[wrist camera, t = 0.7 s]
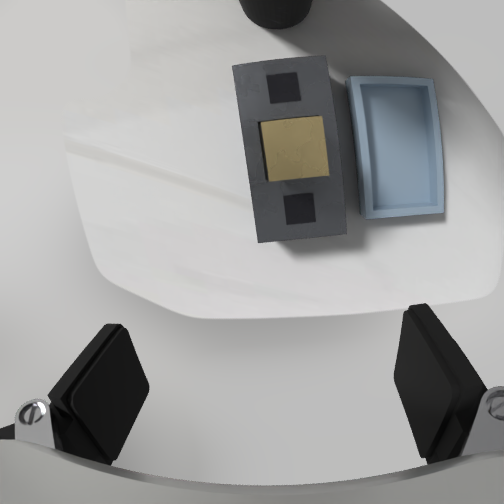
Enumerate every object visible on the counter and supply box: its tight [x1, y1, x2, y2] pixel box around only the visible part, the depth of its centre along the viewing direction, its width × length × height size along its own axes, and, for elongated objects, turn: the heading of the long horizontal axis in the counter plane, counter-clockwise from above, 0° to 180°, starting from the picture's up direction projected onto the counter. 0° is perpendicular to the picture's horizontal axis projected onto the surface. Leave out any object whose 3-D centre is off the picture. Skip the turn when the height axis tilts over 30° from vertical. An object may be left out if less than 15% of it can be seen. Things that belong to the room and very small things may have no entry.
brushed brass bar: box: [261, 116, 329, 182], centre depth 23 cm, size 4×4×9 cm
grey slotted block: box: [232, 56, 347, 243], centre depth 27 cm, size 16×8×5 cm, turn 8°
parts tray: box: [345, 76, 444, 219], centre depth 27 cm, size 14×9×2 cm, turn 8°
